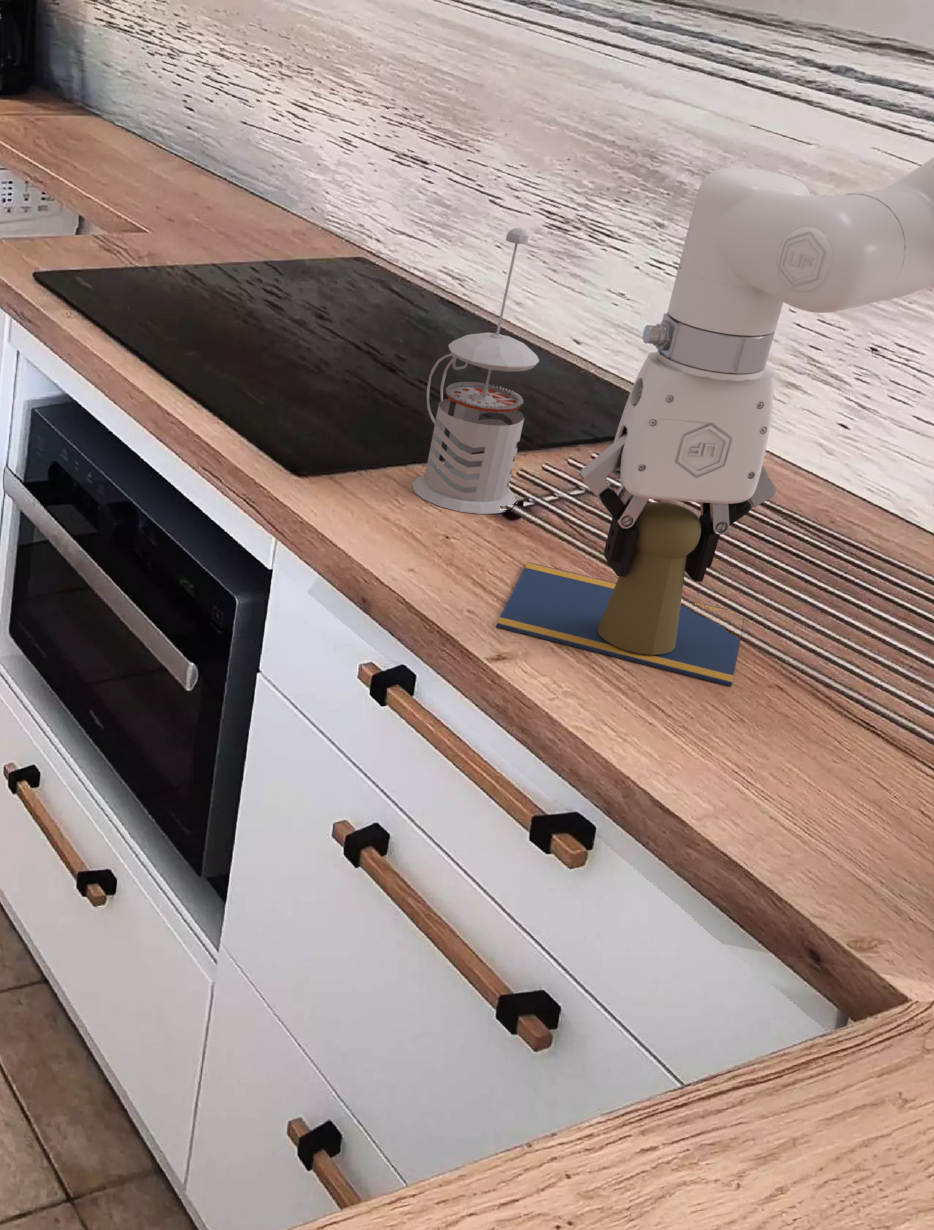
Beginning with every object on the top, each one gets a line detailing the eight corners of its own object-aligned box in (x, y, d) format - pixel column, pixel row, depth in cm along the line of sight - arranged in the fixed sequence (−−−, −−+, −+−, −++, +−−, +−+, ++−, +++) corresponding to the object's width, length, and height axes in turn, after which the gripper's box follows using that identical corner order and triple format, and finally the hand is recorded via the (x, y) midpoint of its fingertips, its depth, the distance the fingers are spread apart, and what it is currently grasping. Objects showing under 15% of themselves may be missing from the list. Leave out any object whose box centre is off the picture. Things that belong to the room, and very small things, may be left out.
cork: (594, 614, 139) (627, 488, 134) (671, 627, 138) (706, 500, 133) (600, 646, 134) (633, 516, 129) (679, 660, 133) (716, 529, 128)
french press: (458, 519, 156) (515, 245, 144) (378, 473, 165) (426, 211, 153) (539, 506, 160) (600, 240, 149) (457, 462, 169) (509, 207, 158)
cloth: (744, 616, 142) (745, 613, 142) (731, 686, 131) (732, 682, 131) (526, 564, 148) (527, 561, 148) (495, 627, 137) (496, 623, 136)
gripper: (615, 353, 121) (559, 585, 130) (850, 370, 122) (779, 600, 131) (583, 322, 128) (532, 545, 136) (806, 338, 129) (742, 559, 137)
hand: (654, 569), depth 133 cm, fingers closed on cork, 5 cm apart
